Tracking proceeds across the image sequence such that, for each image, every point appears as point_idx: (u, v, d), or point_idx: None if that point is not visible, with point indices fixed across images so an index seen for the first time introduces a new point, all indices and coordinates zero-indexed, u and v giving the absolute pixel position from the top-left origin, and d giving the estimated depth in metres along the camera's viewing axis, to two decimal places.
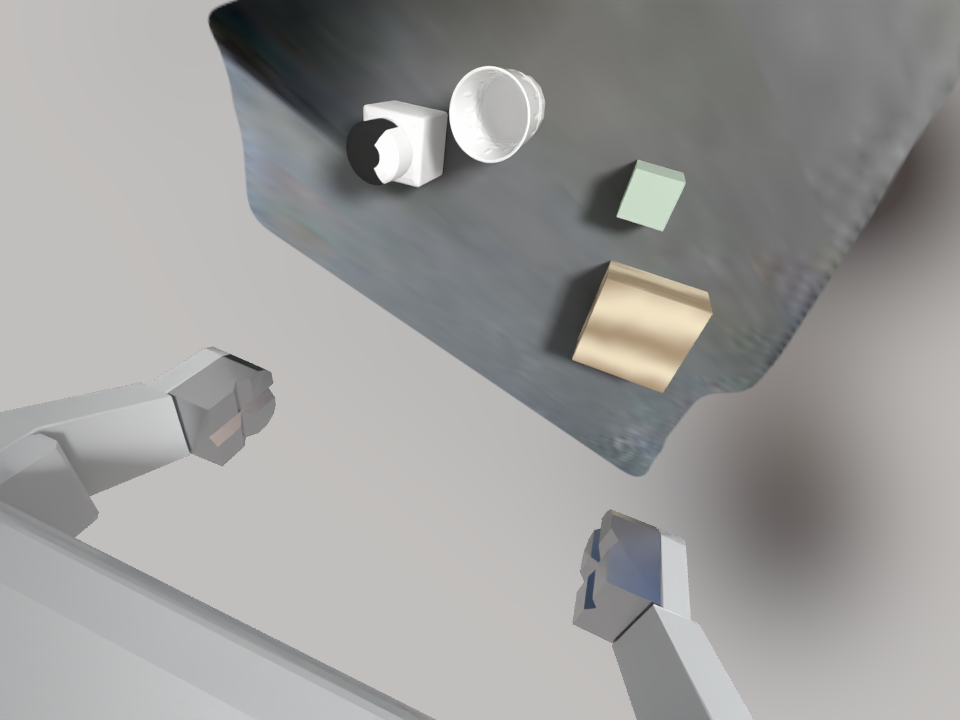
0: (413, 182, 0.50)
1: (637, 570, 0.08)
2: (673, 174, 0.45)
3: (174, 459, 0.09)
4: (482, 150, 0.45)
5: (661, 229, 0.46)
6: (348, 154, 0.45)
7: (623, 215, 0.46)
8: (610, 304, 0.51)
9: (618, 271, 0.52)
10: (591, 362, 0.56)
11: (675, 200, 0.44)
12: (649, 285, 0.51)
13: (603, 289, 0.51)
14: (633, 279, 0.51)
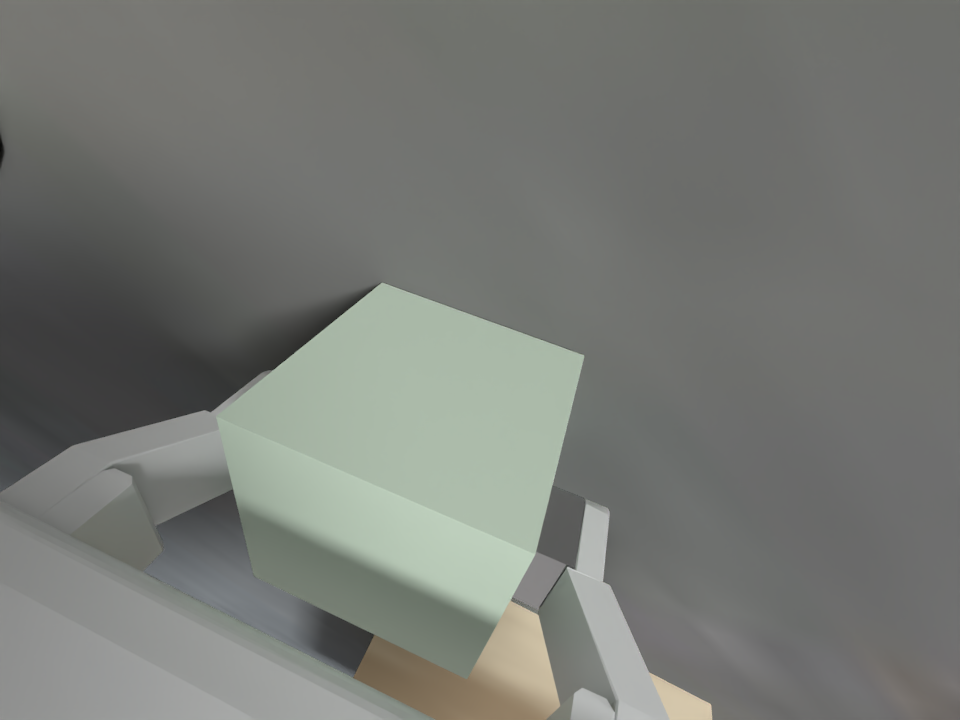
0: None
1: (556, 536, 0.08)
2: (504, 408, 0.08)
3: None
4: None
5: (458, 673, 0.09)
6: None
7: (277, 580, 0.09)
8: None
9: None
10: None
11: (494, 606, 0.07)
12: None
13: None
14: (451, 699, 0.14)
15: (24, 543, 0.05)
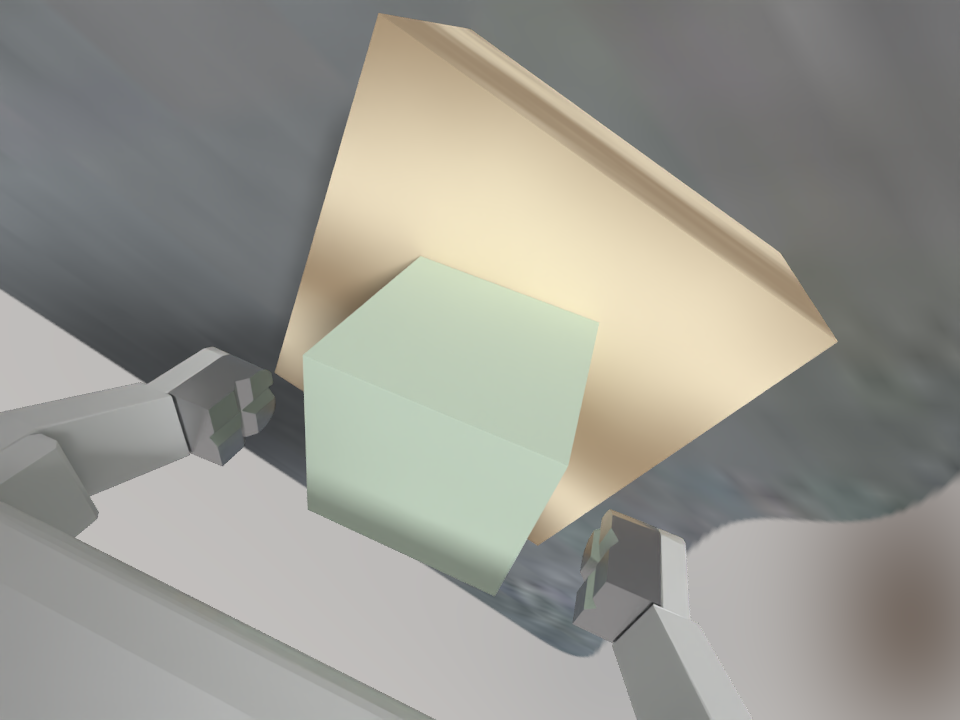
0: None
1: (637, 570, 0.08)
2: (535, 360, 0.09)
3: (174, 459, 0.09)
4: None
5: (488, 590, 0.10)
6: None
7: (330, 512, 0.11)
8: (394, 180, 0.11)
9: (473, 50, 0.11)
10: None
11: (527, 519, 0.08)
12: (584, 138, 0.11)
13: (364, 87, 0.10)
14: (523, 94, 0.11)
15: (24, 543, 0.05)
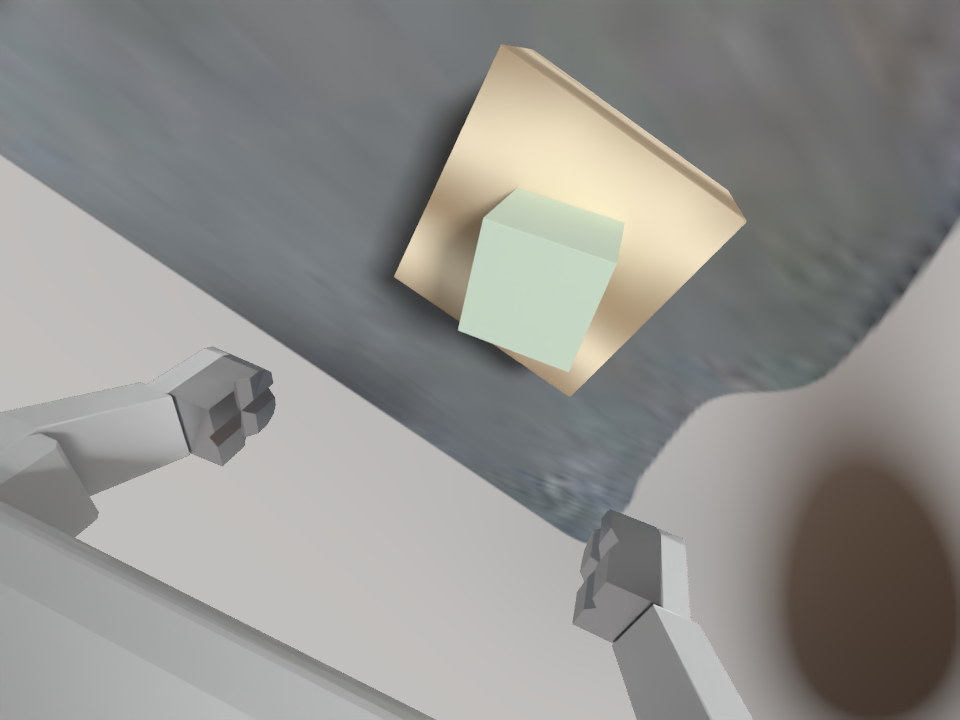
0: None
1: (637, 570, 0.08)
2: (593, 231, 0.17)
3: (174, 459, 0.09)
4: None
5: (565, 368, 0.18)
6: None
7: (472, 328, 0.19)
8: (497, 137, 0.19)
9: (541, 63, 0.20)
10: (434, 293, 0.24)
11: (593, 305, 0.16)
12: (607, 113, 0.19)
13: (486, 83, 0.18)
14: (572, 88, 0.19)
15: (24, 543, 0.05)
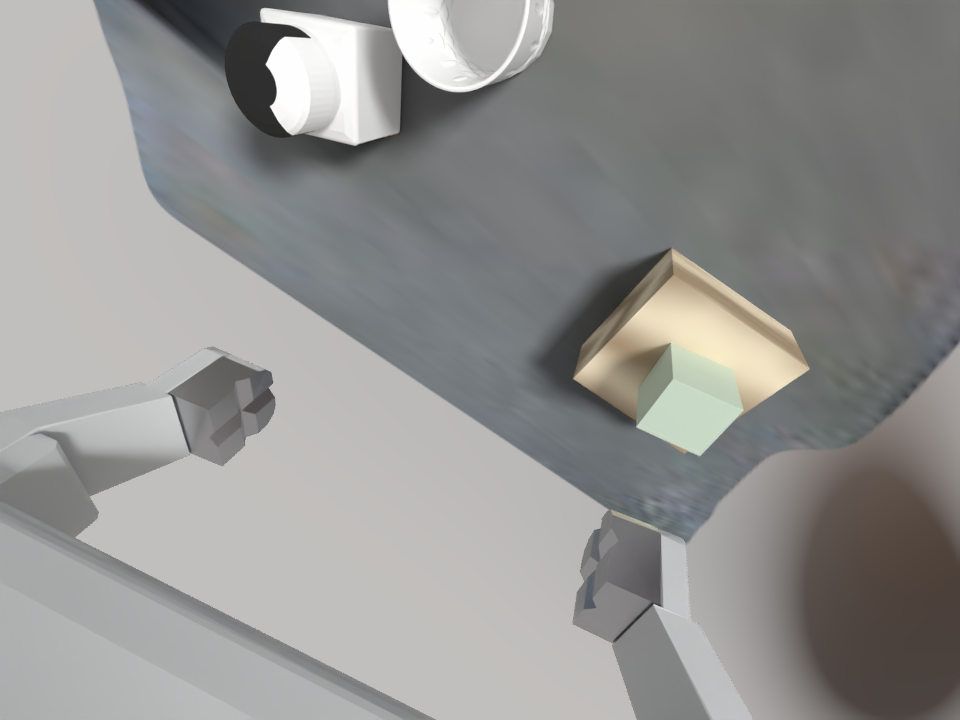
0: (347, 137, 0.32)
1: (637, 571, 0.08)
2: (722, 382, 0.31)
3: (174, 459, 0.09)
4: (450, 76, 0.27)
5: (698, 453, 0.32)
6: (229, 85, 0.27)
7: (646, 427, 0.32)
8: (662, 315, 0.33)
9: (685, 268, 0.33)
10: (600, 389, 0.38)
11: (724, 426, 0.30)
12: (726, 301, 0.33)
13: (660, 290, 0.32)
14: (705, 286, 0.33)
15: (24, 543, 0.05)
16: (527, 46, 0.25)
